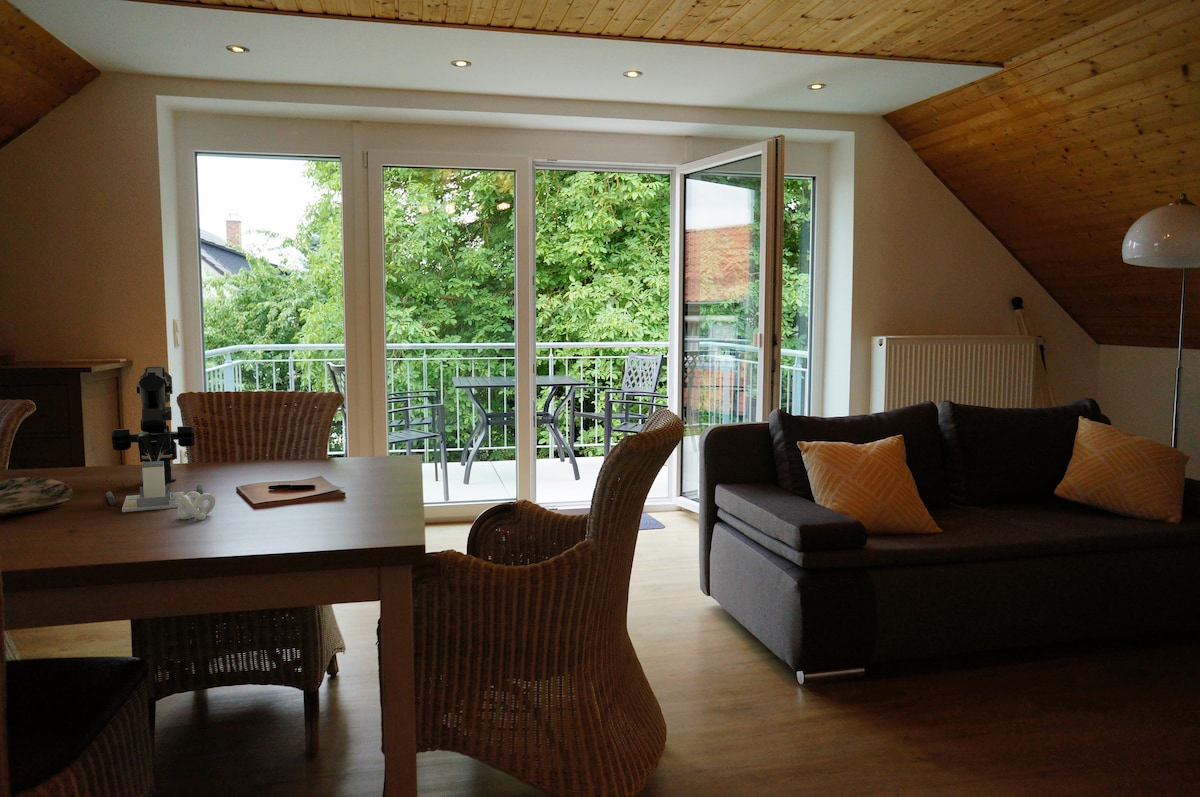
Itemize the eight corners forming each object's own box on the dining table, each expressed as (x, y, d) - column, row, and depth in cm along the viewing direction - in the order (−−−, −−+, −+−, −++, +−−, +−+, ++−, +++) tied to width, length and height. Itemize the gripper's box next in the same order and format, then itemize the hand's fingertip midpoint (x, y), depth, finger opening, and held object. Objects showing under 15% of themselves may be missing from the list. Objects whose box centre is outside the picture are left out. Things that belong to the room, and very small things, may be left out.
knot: (209, 512, 197) (208, 488, 197) (222, 518, 192) (221, 493, 191) (174, 517, 192) (173, 492, 192) (187, 524, 186) (185, 498, 186)
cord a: (196, 489, 223) (196, 484, 223) (202, 489, 224) (202, 483, 224) (197, 498, 212) (196, 493, 212) (203, 497, 213) (202, 492, 213)
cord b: (105, 496, 214) (105, 491, 214) (112, 496, 215) (111, 490, 215) (109, 505, 204) (109, 500, 204) (116, 505, 205) (116, 499, 204)
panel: (126, 499, 211) (125, 488, 211) (184, 494, 217) (183, 483, 217) (122, 512, 197) (121, 500, 197) (184, 506, 203) (183, 495, 202)
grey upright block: (144, 498, 208) (143, 462, 207) (165, 496, 210) (163, 460, 209) (143, 502, 204) (142, 465, 203) (164, 500, 206) (163, 463, 205)
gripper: (110, 397, 212) (108, 447, 203) (192, 395, 220) (194, 442, 211) (114, 425, 219) (113, 474, 211) (193, 421, 228) (195, 468, 219)
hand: (154, 464), depth 212 cm, fingers closed
